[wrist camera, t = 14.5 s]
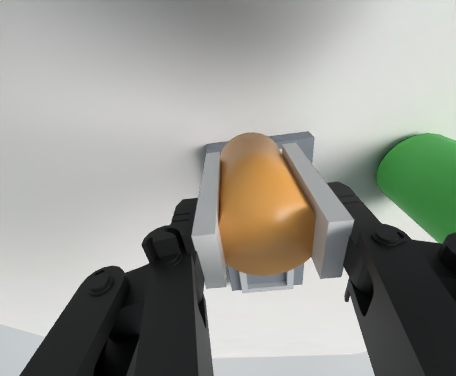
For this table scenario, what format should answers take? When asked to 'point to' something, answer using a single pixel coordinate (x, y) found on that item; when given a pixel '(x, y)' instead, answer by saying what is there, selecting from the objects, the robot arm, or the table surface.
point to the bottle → (423, 182)
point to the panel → (287, 278)
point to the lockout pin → (262, 209)
